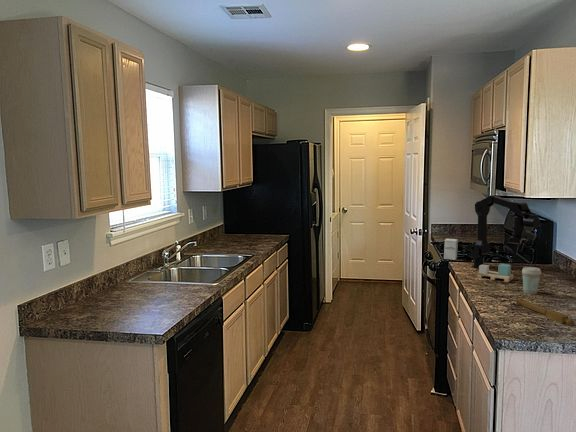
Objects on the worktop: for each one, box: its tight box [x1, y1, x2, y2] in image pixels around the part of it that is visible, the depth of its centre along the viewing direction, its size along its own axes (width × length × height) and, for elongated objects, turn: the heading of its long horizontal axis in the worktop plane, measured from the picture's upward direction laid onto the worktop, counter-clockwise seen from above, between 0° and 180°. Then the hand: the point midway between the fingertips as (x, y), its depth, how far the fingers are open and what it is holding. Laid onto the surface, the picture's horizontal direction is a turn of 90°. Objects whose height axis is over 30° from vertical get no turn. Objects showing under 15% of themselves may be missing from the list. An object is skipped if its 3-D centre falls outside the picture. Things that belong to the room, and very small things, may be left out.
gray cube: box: [478, 264, 490, 274], centre depth 261 cm, size 4×4×4 cm
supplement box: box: [443, 237, 459, 261], centre depth 308 cm, size 7×7×13 cm
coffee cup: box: [521, 266, 542, 295], centre depth 231 cm, size 8×8×12 cm
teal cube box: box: [497, 263, 512, 276], centre depth 258 cm, size 5×5×5 cm
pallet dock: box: [476, 270, 514, 283], centre depth 259 cm, size 9×16×2 cm, turn 49°
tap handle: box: [515, 297, 575, 327], centre depth 201 cm, size 3×3×30 cm
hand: (517, 253), depth 260 cm, fingers open, 9 cm apart
